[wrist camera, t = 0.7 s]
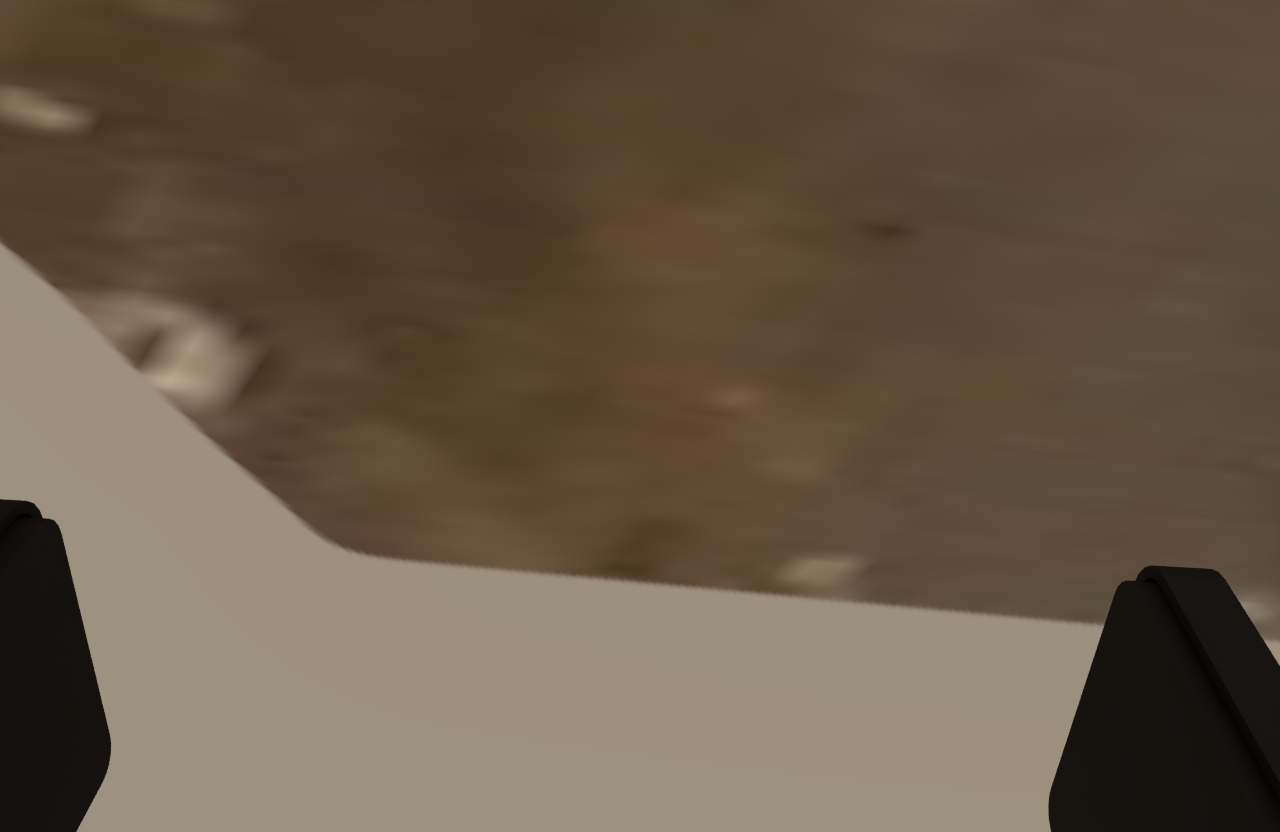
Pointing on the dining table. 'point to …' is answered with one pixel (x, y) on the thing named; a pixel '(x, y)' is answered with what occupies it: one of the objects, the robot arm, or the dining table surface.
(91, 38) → the dining table surface
